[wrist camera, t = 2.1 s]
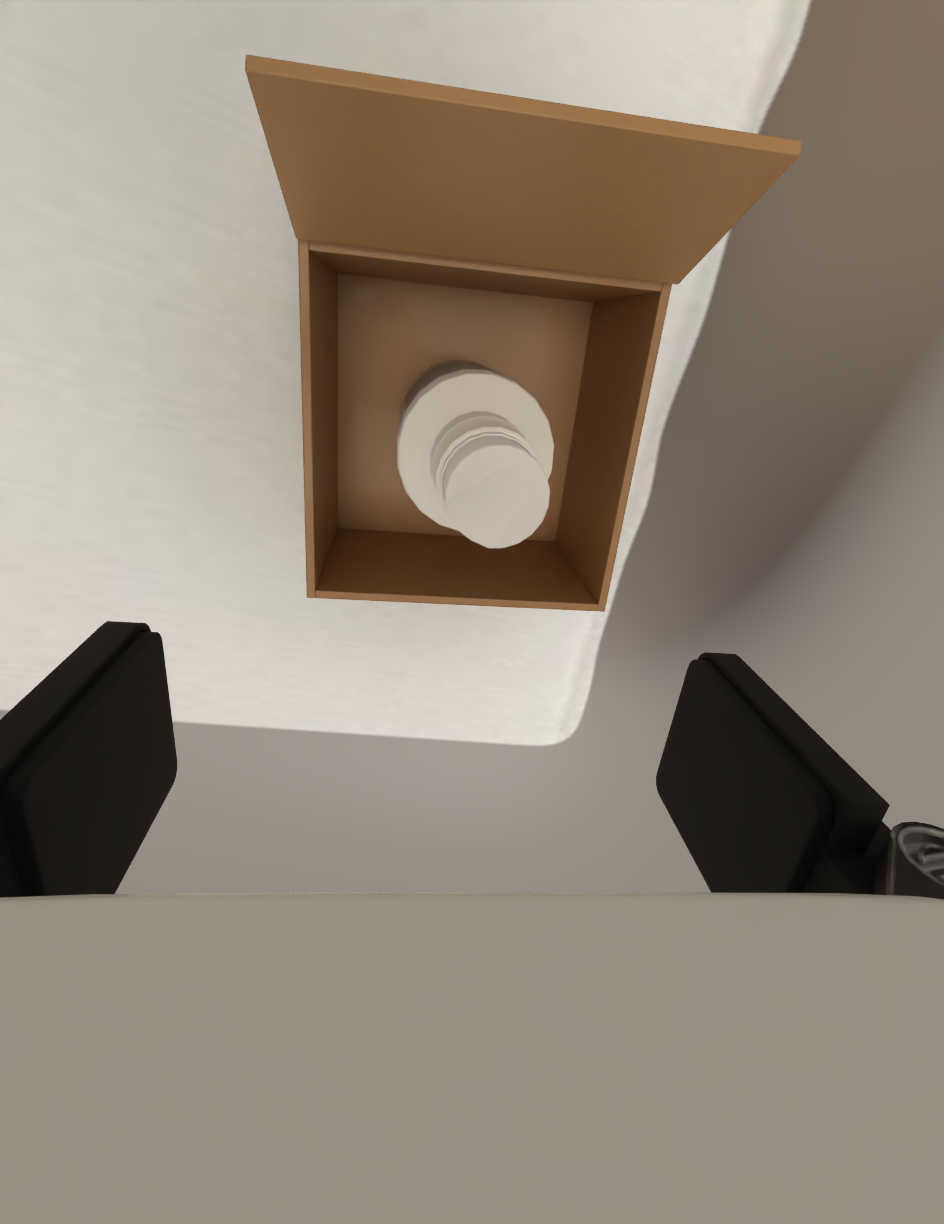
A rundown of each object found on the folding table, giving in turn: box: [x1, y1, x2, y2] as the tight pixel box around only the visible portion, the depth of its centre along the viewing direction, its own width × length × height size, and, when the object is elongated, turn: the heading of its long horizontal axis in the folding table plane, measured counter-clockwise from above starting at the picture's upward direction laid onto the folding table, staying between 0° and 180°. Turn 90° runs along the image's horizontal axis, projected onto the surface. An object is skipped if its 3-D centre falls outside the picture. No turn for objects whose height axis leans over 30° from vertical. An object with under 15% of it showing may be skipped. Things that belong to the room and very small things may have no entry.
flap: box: [245, 55, 801, 284], centre depth 19 cm, size 7×15×1 cm
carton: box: [298, 239, 672, 611], centre depth 31 cm, size 15×15×10 cm
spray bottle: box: [397, 360, 554, 548], centre depth 27 cm, size 7×7×18 cm
